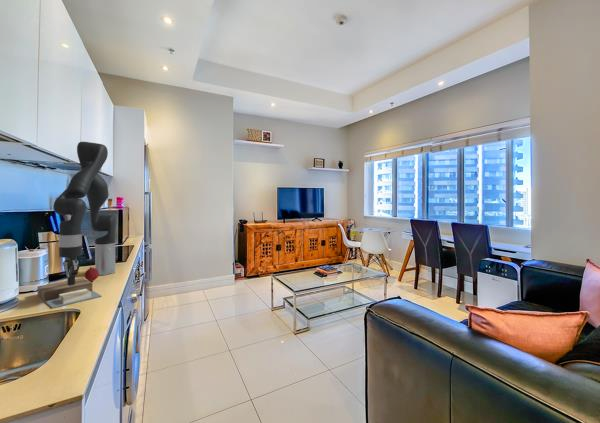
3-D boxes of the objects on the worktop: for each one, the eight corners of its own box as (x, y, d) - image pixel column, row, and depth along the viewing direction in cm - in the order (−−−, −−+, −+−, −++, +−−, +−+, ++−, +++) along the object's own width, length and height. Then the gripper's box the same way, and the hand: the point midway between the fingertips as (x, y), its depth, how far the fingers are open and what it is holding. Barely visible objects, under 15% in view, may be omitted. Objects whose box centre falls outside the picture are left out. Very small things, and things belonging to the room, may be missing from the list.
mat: (45, 302, 108) (45, 301, 108) (92, 291, 121) (92, 290, 121) (52, 308, 102) (52, 307, 102) (101, 296, 116) (101, 295, 115)
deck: (37, 295, 115) (37, 286, 115) (83, 286, 128) (83, 277, 128) (45, 302, 108) (44, 292, 108) (92, 291, 121) (92, 282, 121)
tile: (63, 297, 106) (63, 303, 106) (90, 291, 113) (90, 297, 113) (59, 294, 109) (59, 300, 109) (86, 288, 117) (86, 294, 117)
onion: (101, 280, 138) (101, 265, 137) (92, 283, 132) (92, 267, 132) (91, 279, 138) (91, 264, 138) (81, 283, 133) (81, 267, 132)
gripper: (87, 245, 112) (87, 285, 113) (76, 242, 120) (77, 279, 120) (64, 248, 106) (64, 290, 107) (54, 244, 113) (55, 284, 114)
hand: (71, 284), depth 114 cm, fingers closed
